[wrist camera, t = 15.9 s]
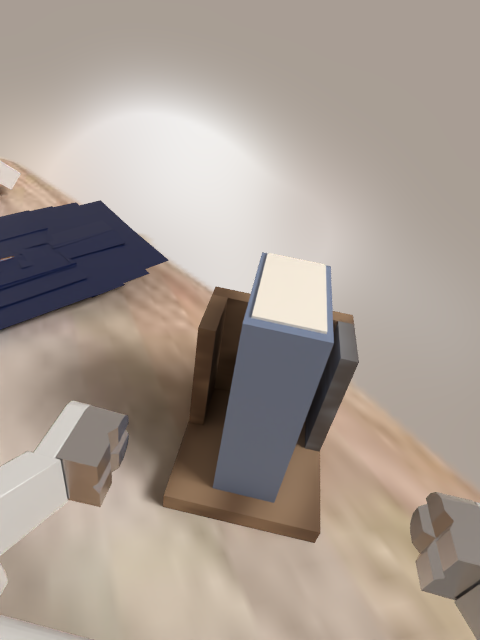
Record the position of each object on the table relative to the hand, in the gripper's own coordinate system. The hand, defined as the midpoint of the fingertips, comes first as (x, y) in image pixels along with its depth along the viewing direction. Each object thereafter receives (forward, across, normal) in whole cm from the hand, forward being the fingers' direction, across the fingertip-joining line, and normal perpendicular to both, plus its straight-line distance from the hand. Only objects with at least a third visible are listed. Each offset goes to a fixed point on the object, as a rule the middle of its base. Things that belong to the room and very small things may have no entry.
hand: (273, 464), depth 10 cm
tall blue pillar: (+13, -1, +17) cm, 22 cm away
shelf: (+14, -1, +19) cm, 23 cm away
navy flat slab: (+31, +31, +20) cm, 48 cm away
